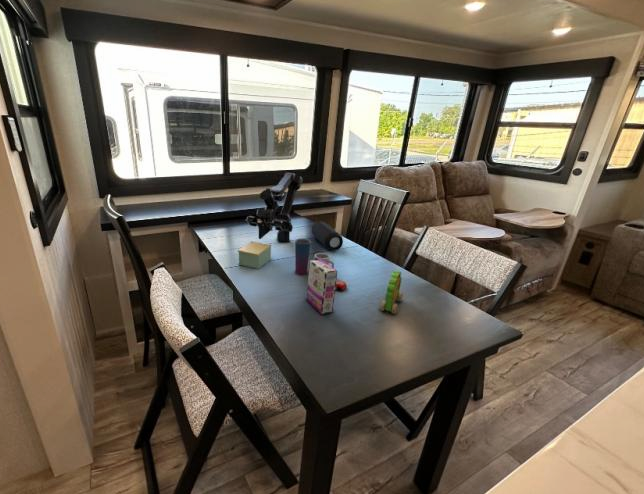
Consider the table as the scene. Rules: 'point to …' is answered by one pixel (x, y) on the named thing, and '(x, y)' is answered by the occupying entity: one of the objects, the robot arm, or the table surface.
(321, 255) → the mug
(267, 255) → the green hinged box
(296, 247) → the cup
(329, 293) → the candy bar box
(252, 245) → the lid
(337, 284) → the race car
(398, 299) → the green toy caterpillar
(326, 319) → the table surface
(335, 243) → the portable speaker
